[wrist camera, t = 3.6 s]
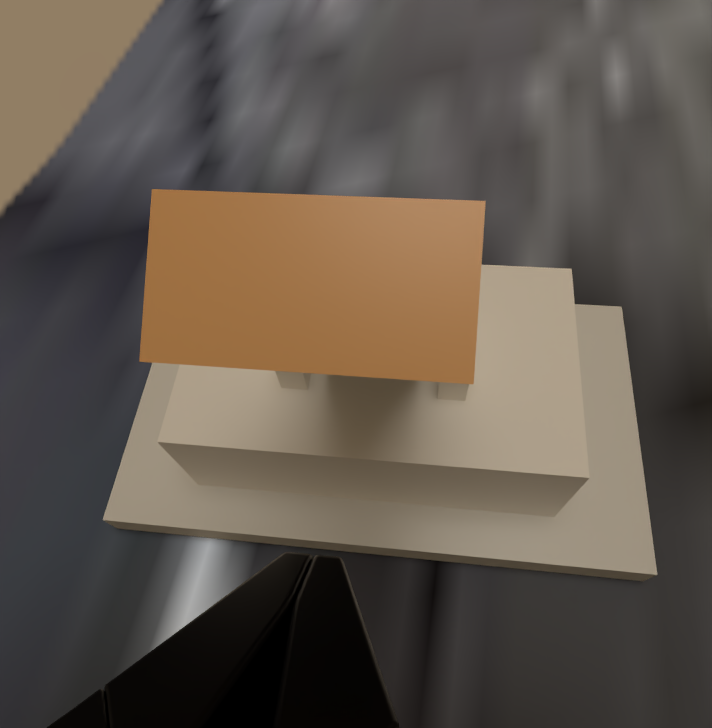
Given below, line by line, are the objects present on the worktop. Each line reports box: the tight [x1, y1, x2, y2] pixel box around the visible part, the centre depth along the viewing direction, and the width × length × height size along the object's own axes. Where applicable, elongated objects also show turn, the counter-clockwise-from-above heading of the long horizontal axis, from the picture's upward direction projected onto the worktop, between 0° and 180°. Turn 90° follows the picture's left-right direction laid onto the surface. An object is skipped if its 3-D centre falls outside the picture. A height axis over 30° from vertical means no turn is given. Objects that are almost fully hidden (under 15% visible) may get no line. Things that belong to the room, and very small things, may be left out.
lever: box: [139, 189, 485, 384], centre depth 12 cm, size 2×4×10 cm, turn 84°
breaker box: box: [103, 265, 657, 581], centre depth 19 cm, size 10×18×7 cm, turn 84°
